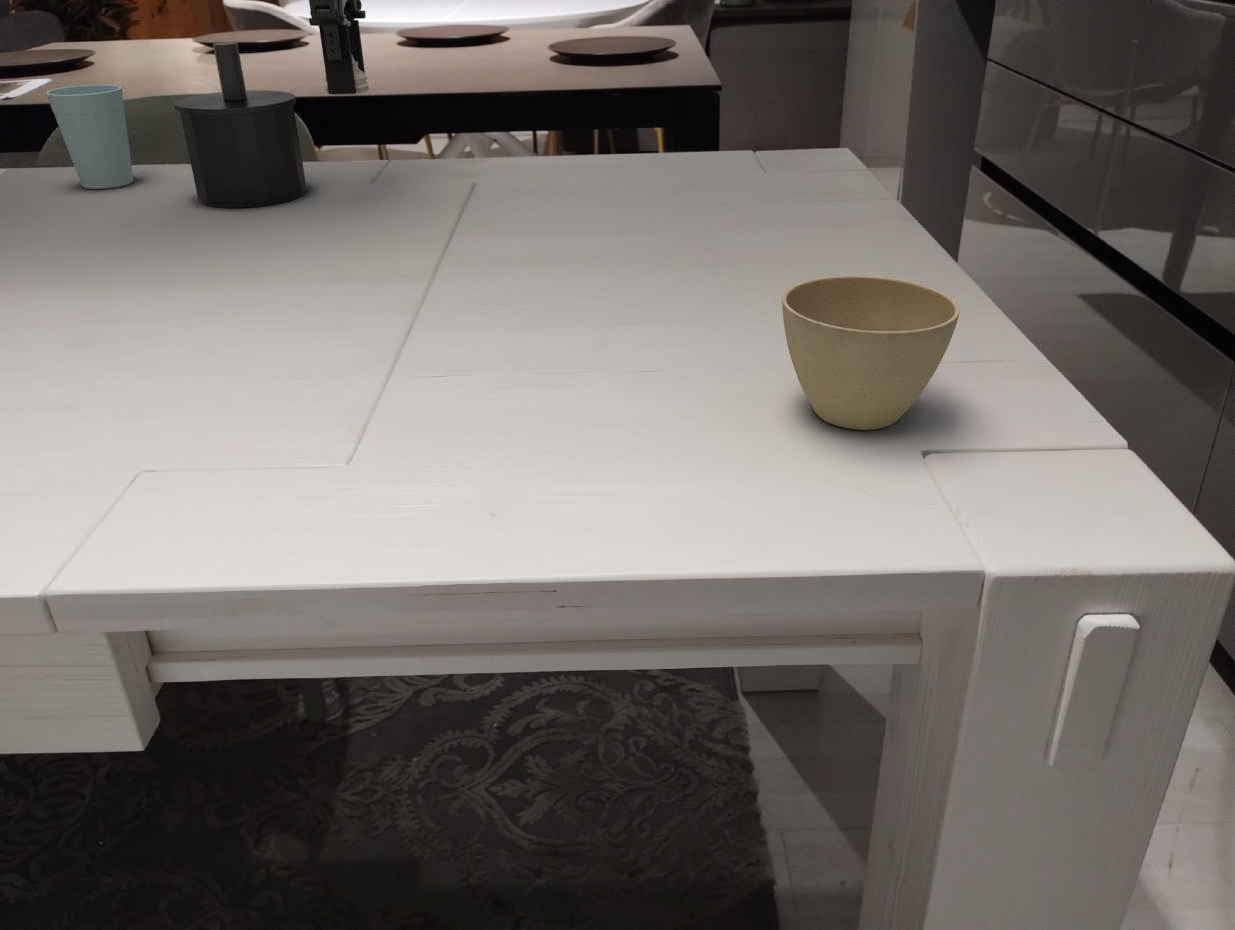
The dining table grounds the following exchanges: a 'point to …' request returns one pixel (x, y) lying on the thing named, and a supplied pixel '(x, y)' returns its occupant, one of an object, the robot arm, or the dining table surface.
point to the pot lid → (233, 90)
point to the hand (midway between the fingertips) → (348, 89)
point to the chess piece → (355, 69)
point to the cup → (94, 133)
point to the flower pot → (866, 345)
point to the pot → (245, 158)
